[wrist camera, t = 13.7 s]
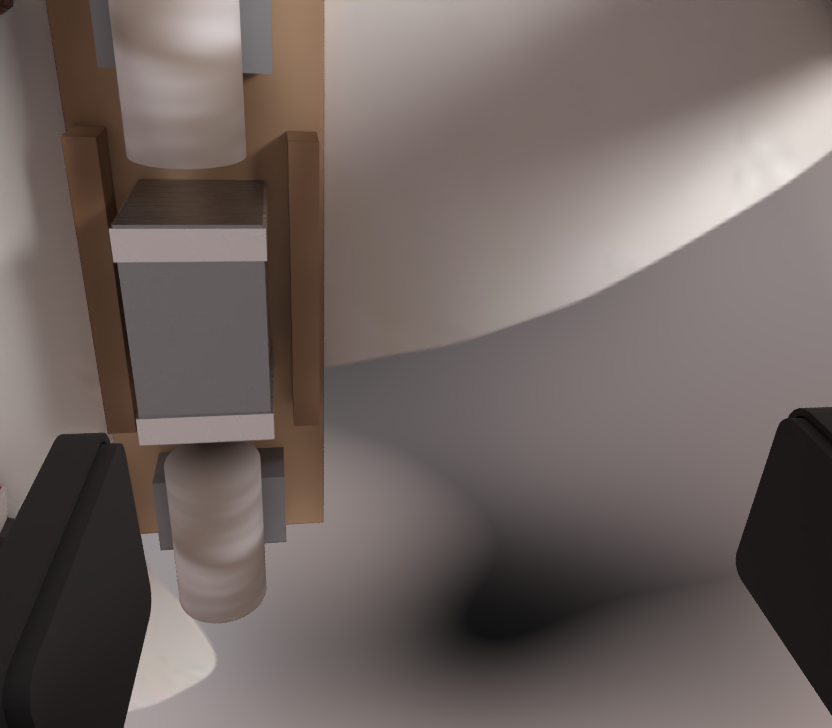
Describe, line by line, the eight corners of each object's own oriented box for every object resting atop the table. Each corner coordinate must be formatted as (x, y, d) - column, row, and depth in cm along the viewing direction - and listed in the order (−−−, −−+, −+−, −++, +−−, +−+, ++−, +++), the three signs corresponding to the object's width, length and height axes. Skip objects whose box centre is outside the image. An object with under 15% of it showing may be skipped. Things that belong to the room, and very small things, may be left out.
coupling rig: (322, -78, 28) (338, -87, 22) (322, 510, 42) (331, 613, 35) (37, -99, 27) (-37, -115, 20) (131, 522, 40) (104, 632, 33)
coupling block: (266, 180, 32) (265, 225, 26) (273, 369, 36) (274, 441, 31) (136, 178, 31) (108, 225, 25) (159, 372, 35) (139, 447, 30)
